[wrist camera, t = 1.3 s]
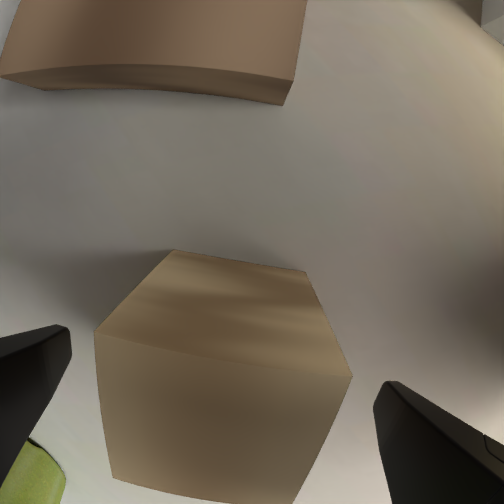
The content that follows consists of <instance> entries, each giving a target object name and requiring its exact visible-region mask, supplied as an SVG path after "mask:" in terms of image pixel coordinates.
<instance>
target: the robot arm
mask: <svg viewBox="0 0 504 504" xmlns="http://www.w3.org/2000/svg"><path fill="white" fill-rule="evenodd" d="M71 357H72V348H71V338H70V331H69V329H68V328H67V327H64V326H61V325H57V324H56V325H51V326H47V327H43V328H39V329H35V330H31V331H27V332H23V333H19V334H14V335H10V336H6V337H2V338H0V488H1V486H2V484H3V482H4V481H5V479H6V477H7V475H8V473H9V471H10V469H11V467H12V466H13V464H14V462H15V460H16V458H17V456H18V455H19V453H20V451H21V449H22V448H23V446H24V444H25V442H26V441H27V439H28V437H29V435H30V434H31V432H32V430H33V429H34V427H35V425H36V423H37V422H38V420H39V419H40V417H41V415H42V414H43V412H44V410H45V409H46V407H47V405H48V404H49V402H50V400H51V399H52V397H53V395H54V393H55V391H56V389H57V387H58V385H59V383H60V380H61V378H62V376H63V374H64V372H65V370H66V368H67V366H68V364H69V362H70V360H71ZM373 413H374V419H375V425H376V432H377V439H378V446H379V452H380V456H381V460H382V464H383V468H384V472H385V476H386V480H387V484H388V488H389V492H390V496H391V500H392V504H504V445H503V444H501V443H499V442H497V441H495V440H494V439H492V438H490V437H489V436H487V435H485V434H484V435H483V433H482V432H480V431H478V430H477V429H475V428H473V427H472V426H470V425H468V424H467V423H465V422H463V421H462V420H460V419H458V418H457V417H455V416H453V415H452V414H450V413H448V412H447V411H445V410H443V409H442V408H440V407H439V406H437V405H435V404H434V403H432V402H430V401H429V400H427V399H426V398H424V397H422V396H421V395H419V394H418V393H416V392H414V391H413V390H411V389H410V388H408V387H406V386H405V385H403V384H402V383H400V382H398V381H386V382H384V383H383V385H382V387H381V389H380V391H379V393H378V395H377V398H376V400H375V402H374V405H373Z"/></svg>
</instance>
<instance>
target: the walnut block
mask: <svg viewBox="0 0 504 504" xmlns="http://www.w3.org/2000/svg"><path fill="white" fill-rule="evenodd" d="M306 4H307V0H21V2H20V4H19V7H18V9H17V12H16V14H15V17H14V19H13V22H12V25H11V28H10V30H9V33H8V36H7V39H6V42H5V45H4V48H3V52H2V55H1V58H0V78H3V79H7V80H11V81H14V82H18V83H21V84H25V85H28V86H31V87H35V88H38V89H41V90H44V91H45V90H62V89H95V88H112V89H147V90H164V91H177V92H189V93H199V94H208V95H217V96H225V97H232V98H239V99H246V100H252V101H258V102H264V103H270V104H275V105H281V106H283V104H284V102H285V100H286V97H287V95H288V92H289V90H290V88H291V85H292V83H293V81H294V75H295V69H296V63H297V58H298V52H299V46H300V40H301V34H302V28H303V22H304V16H305V10H306Z"/></svg>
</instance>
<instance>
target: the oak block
mask: <svg viewBox="0 0 504 504" xmlns="http://www.w3.org/2000/svg"><path fill="white" fill-rule="evenodd" d="M94 345H95V360H96V372H97V382H98V391H99V400H100V408H101V415H102V422H103V428H104V434H105V440H106V446H107V451H108V457H109V462H110V466H111V471H112V476H113V478H115V479H118V480H121V481H124V482H128V483H131V484H135V485H138V486H142V487H146V488H150V489H154V490H158V491H162V492H166V493H171V494H176V495H181V496H186V497H191V498H197V499H202V500H209V501H215V502H223V503H231V504H292V503H293V501H294V500H295V498H296V496H297V494H298V492H299V491H300V489H301V487H302V485H303V483H304V481H305V479H306V478H307V476H308V474H309V472H310V470H311V468H312V466H313V464H314V462H315V460H316V458H317V456H318V454H319V452H320V450H321V448H322V446H323V444H324V442H325V439H326V437H327V435H328V433H329V431H330V429H331V426H332V424H333V422H334V420H335V418H336V415H337V413H338V411H339V408H340V406H341V404H342V401H343V399H344V397H345V394H346V392H347V389H348V387H349V384H350V382H351V379H352V377H353V376H352V373H351V371H350V369H349V366H348V364H347V362H346V360H345V357H344V355H343V353H342V351H341V348H340V346H339V344H338V342H337V339H336V337H335V335H334V333H333V331H332V328H331V326H330V324H329V322H328V320H327V317H326V315H325V313H324V311H323V309H322V307H321V304H320V302H319V300H318V298H317V296H316V294H315V292H314V289H313V287H312V285H311V283H310V281H309V279H308V277H307V275H306V272H301V271H295V270H289V269H283V268H277V267H271V266H265V265H259V264H253V263H247V262H242V261H236V260H230V259H224V258H219V257H213V256H207V255H201V254H196V253H190V252H184V251H179V250H172V251H171V252H170V253H169V254H168V255H167V256H166V257H165V258H164V259H163V260H162V261H161V262H160V263H159V264H158V265H157V266H156V267H155V268H154V269H153V270H152V271H151V272H150V273H149V274H148V275H147V276H146V277H145V278H144V279H143V280H142V282H141V283H140V284H139V285H138V286H137V287H136V288H135V289H134V290H133V291H132V292H131V293H130V294H129V295H128V296H127V297H126V298H125V299H124V300H123V301H122V302H121V303H120V304H119V305H118V306H117V307H116V308H115V310H114V311H113V312H112V313H111V314H110V315H109V316H108V317H107V318H106V319H105V320H104V321H103V322H102V323H101V324H100V325H99V327H98V328H97V329H96V330H95V331H94Z"/></svg>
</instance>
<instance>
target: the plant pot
mask: <svg viewBox="0 0 504 504" xmlns="http://www.w3.org/2000/svg"><path fill="white" fill-rule="evenodd" d="M65 483H66V478H65V475H64V474H63V472H62V470H61V469H60V467H59V466H58V465H57V463H56V462H55V461H54V460H53V459H52V458H51V457H50V456H49V455H48V454H47V453H46V452H45V451H44V450H43V449H41V448H38V447H36V446H34V445H32V444H31V443H29V442H28V441H26V442H25V444H24V446H23V448H22V449H21V451H20V453H19V455H18V456H17V458H16V460H15V462H14V464H13V466H12V467H11V469H10V471H9V473H8V475H7V477H6V479H5V481H4V482H3V484H2V486H1V488H0V504H60V501H61V498H62V494H63V491H64V488H65Z"/></svg>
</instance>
